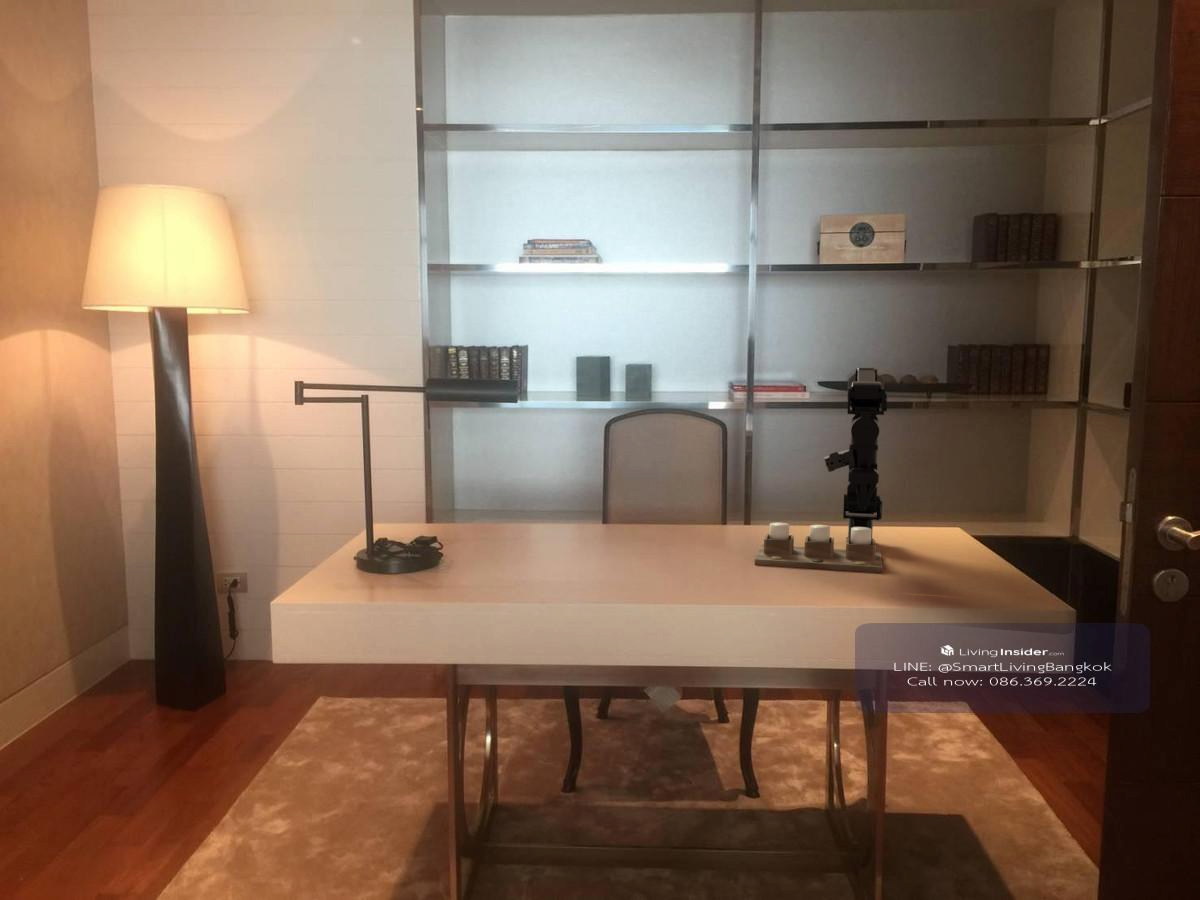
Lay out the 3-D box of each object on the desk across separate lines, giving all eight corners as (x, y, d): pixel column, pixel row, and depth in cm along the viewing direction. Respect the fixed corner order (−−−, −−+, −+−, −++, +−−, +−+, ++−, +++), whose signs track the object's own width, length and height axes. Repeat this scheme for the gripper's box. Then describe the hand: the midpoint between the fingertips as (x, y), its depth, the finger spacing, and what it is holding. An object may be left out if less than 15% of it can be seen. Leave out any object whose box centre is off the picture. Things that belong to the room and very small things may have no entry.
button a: (850, 543, 213) (851, 526, 213) (870, 544, 212) (871, 527, 211) (850, 547, 209) (850, 530, 208) (870, 549, 208) (871, 531, 207)
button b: (809, 541, 215) (810, 524, 215) (829, 542, 214) (830, 525, 214) (808, 545, 211) (809, 528, 211) (829, 546, 210) (829, 529, 210)
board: (761, 549, 222) (761, 531, 222) (880, 556, 215) (881, 537, 215) (754, 564, 208) (755, 544, 208) (881, 572, 201) (882, 552, 201)
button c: (770, 539, 218) (770, 522, 217) (789, 540, 217) (789, 523, 216) (768, 543, 214) (768, 525, 213) (788, 544, 212) (788, 526, 212)
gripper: (828, 434, 219) (826, 500, 220) (825, 442, 201) (823, 514, 203) (878, 435, 216) (875, 502, 218) (879, 444, 198) (877, 517, 200)
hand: (861, 509), depth 209 cm, fingers open, 4 cm apart
